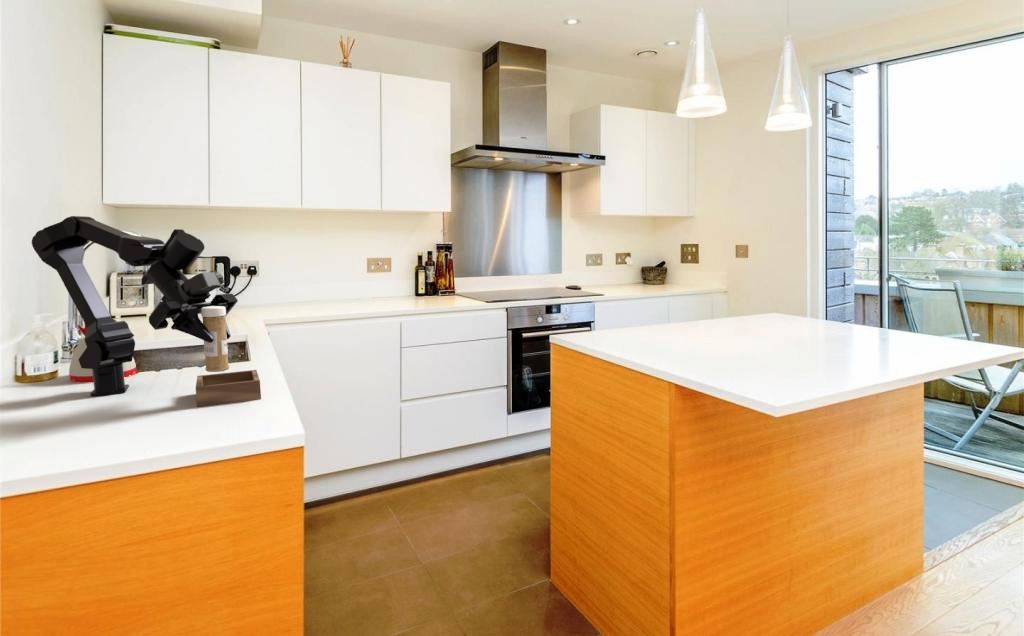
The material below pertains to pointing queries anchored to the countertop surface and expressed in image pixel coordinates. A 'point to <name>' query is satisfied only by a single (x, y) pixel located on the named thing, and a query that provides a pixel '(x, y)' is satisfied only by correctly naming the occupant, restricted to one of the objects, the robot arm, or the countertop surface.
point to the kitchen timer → (86, 374)
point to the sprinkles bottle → (215, 338)
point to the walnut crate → (227, 388)
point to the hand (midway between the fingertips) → (220, 339)
